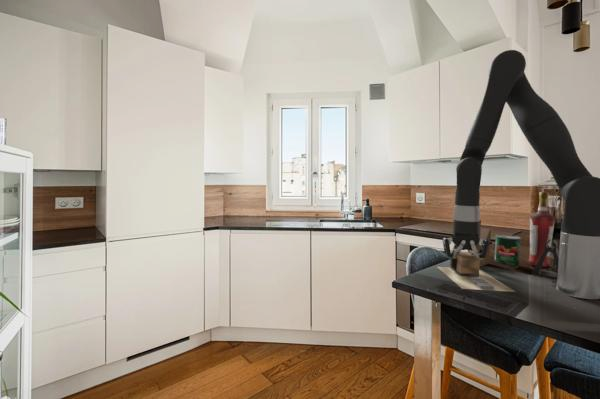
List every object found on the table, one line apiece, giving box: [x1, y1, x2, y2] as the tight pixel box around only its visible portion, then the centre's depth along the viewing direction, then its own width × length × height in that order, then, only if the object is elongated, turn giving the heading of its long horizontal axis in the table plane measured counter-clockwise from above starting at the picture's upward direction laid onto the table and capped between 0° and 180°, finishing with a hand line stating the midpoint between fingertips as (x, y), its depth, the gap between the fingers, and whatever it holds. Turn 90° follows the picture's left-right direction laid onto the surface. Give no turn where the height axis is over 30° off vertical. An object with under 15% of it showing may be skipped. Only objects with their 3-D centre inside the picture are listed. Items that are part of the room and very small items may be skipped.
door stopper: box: [531, 239, 559, 280], centre depth 103 cm, size 9×6×12 cm, turn 47°
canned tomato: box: [494, 234, 521, 269], centre depth 115 cm, size 8×8×11 cm
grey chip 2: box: [476, 282, 494, 289], centre depth 87 cm, size 4×3×1 cm
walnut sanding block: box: [449, 250, 480, 277], centre depth 101 cm, size 6×9×6 cm, turn 173°
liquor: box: [527, 191, 556, 269], centre depth 114 cm, size 7×7×28 cm
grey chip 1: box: [471, 278, 488, 284], centre depth 90 cm, size 4×3×1 cm
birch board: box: [437, 266, 516, 293], centre depth 95 cm, size 14×22×1 cm, turn 173°
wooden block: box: [467, 219, 492, 268], centre depth 111 cm, size 4×11×18 cm, turn 126°
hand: (464, 269), depth 101 cm, fingers closed on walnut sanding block, 5 cm apart
